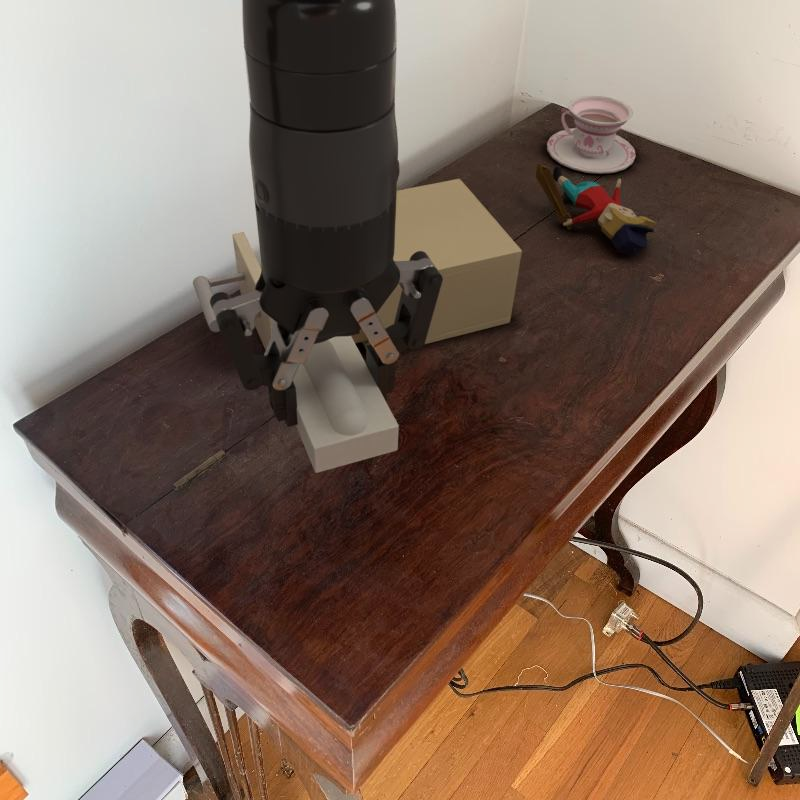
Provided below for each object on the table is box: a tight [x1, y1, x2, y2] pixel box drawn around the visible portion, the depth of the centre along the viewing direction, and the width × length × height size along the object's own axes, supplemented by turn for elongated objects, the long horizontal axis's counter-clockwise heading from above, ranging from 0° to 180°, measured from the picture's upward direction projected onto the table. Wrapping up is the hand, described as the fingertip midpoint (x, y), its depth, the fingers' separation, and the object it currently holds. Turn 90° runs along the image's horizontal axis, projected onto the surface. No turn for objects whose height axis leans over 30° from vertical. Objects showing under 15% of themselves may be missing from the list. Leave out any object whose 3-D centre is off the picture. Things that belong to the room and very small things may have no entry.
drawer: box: [192, 231, 368, 351], centre depth 79 cm, size 19×13×7 cm, turn 112°
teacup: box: [546, 95, 637, 175], centre depth 107 cm, size 12×12×6 cm
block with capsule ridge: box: [293, 336, 400, 474], centre depth 53 cm, size 10×6×4 cm, turn 22°
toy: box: [535, 161, 658, 256], centre depth 94 cm, size 9×6×15 cm
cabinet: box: [361, 178, 523, 349], centre depth 83 cm, size 16×14×9 cm
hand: (332, 405), depth 54 cm, fingers closed on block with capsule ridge, 5 cm apart
